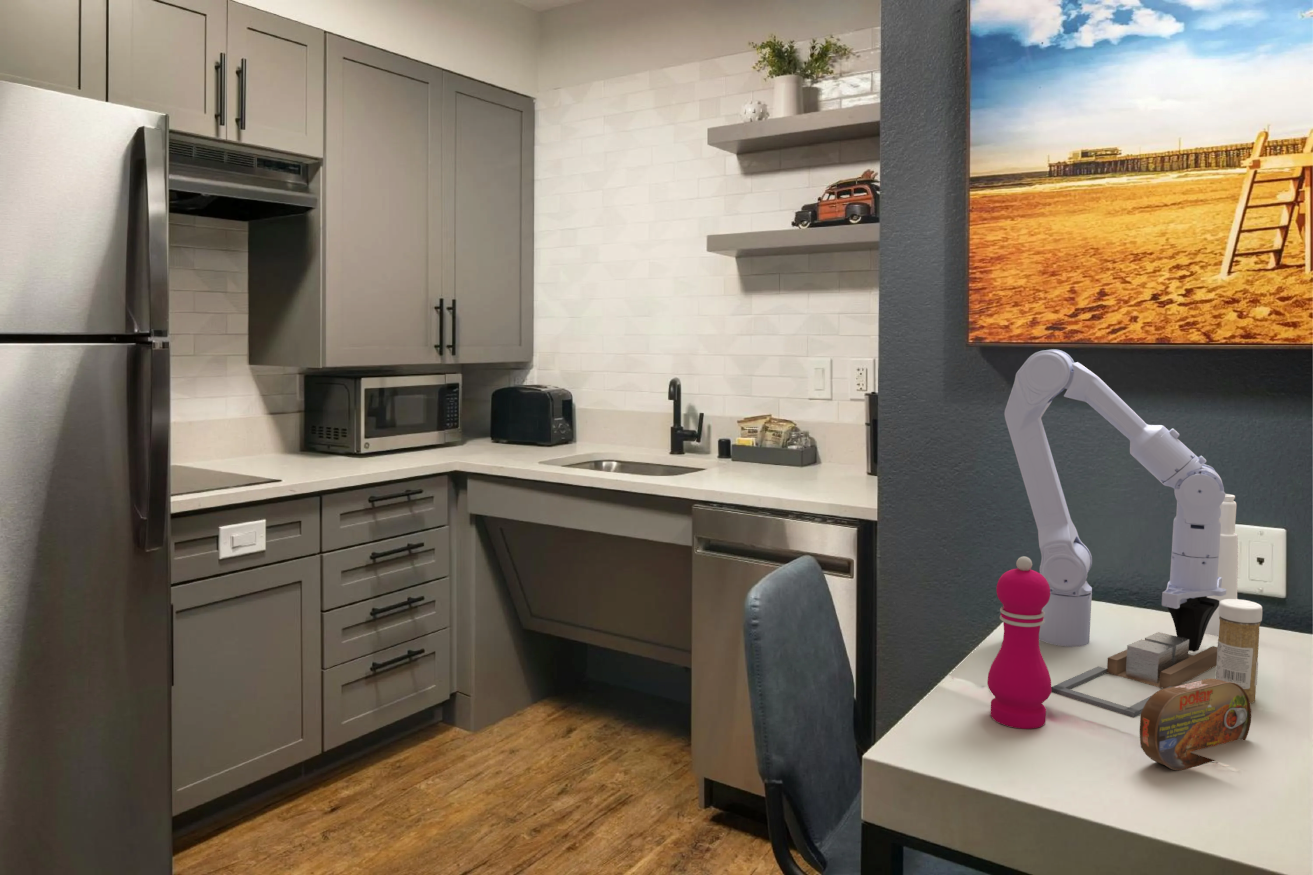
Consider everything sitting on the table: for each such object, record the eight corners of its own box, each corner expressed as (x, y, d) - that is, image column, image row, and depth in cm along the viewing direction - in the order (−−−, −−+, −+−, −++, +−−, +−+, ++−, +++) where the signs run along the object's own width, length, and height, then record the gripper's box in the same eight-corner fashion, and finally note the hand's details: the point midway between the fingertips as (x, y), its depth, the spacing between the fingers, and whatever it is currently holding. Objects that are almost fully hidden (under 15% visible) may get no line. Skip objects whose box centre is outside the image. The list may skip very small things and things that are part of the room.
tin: (1156, 777, 100) (1161, 700, 99) (1131, 764, 103) (1135, 689, 102) (1252, 752, 106) (1257, 679, 105) (1225, 741, 109) (1230, 669, 108)
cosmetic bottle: (1230, 644, 142) (1240, 499, 140) (1187, 635, 147) (1196, 494, 144) (1246, 637, 146) (1256, 495, 143) (1204, 627, 151) (1213, 490, 148)
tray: (1049, 702, 120) (1050, 687, 120) (1097, 680, 128) (1098, 666, 127) (1133, 729, 112) (1134, 712, 112) (1179, 703, 120) (1180, 688, 119)
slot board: (1106, 683, 127) (1107, 657, 126) (1160, 657, 137) (1162, 633, 136) (1169, 701, 120) (1170, 674, 120) (1221, 673, 130) (1222, 648, 130)
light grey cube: (1125, 674, 126) (1127, 645, 125) (1139, 668, 128) (1141, 639, 128) (1157, 683, 122) (1158, 653, 122) (1170, 676, 125) (1172, 646, 124)
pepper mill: (1048, 711, 117) (1055, 552, 115) (1051, 734, 110) (1059, 565, 108) (986, 703, 120) (992, 547, 117) (985, 726, 113) (992, 561, 111)
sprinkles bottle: (1262, 710, 118) (1270, 604, 116) (1244, 718, 115) (1251, 610, 114) (1223, 698, 121) (1230, 595, 120) (1205, 706, 119) (1212, 601, 117)
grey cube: (1143, 666, 129) (1144, 637, 128) (1156, 660, 131) (1158, 631, 131) (1174, 674, 126) (1175, 645, 125) (1187, 668, 128) (1189, 639, 128)
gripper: (1203, 566, 124) (1197, 667, 125) (1247, 551, 133) (1241, 645, 134) (1148, 557, 129) (1142, 653, 131) (1194, 542, 138) (1188, 633, 140)
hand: (1189, 648), depth 133 cm, fingers closed
